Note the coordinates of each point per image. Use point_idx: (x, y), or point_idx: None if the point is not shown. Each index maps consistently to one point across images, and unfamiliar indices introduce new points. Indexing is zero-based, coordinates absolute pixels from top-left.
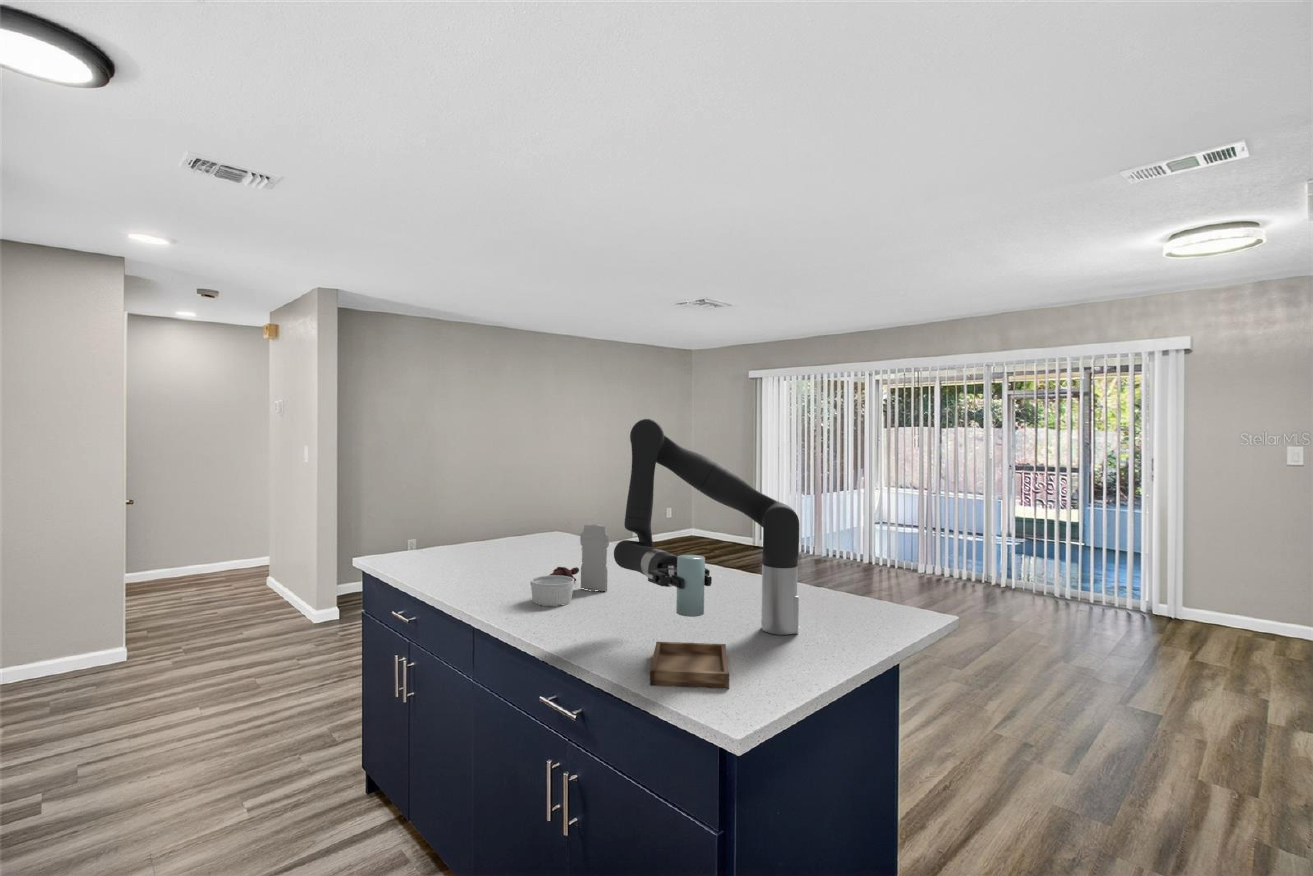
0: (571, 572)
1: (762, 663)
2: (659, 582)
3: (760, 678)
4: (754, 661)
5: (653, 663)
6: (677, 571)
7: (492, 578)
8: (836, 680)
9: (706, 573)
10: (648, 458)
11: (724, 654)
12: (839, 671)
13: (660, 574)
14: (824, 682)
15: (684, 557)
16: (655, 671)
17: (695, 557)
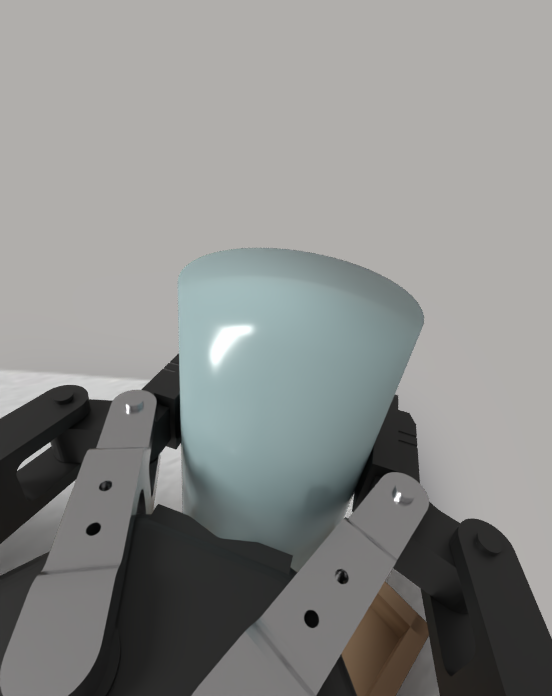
0: None
1: (46, 512)
2: (469, 634)
3: (159, 466)
4: (37, 538)
5: (394, 679)
6: (381, 425)
7: None
8: (87, 379)
9: (103, 400)
10: None
11: None
12: (31, 387)
13: (512, 555)
14: (108, 387)
15: (354, 306)
16: (416, 612)
17: (274, 273)
